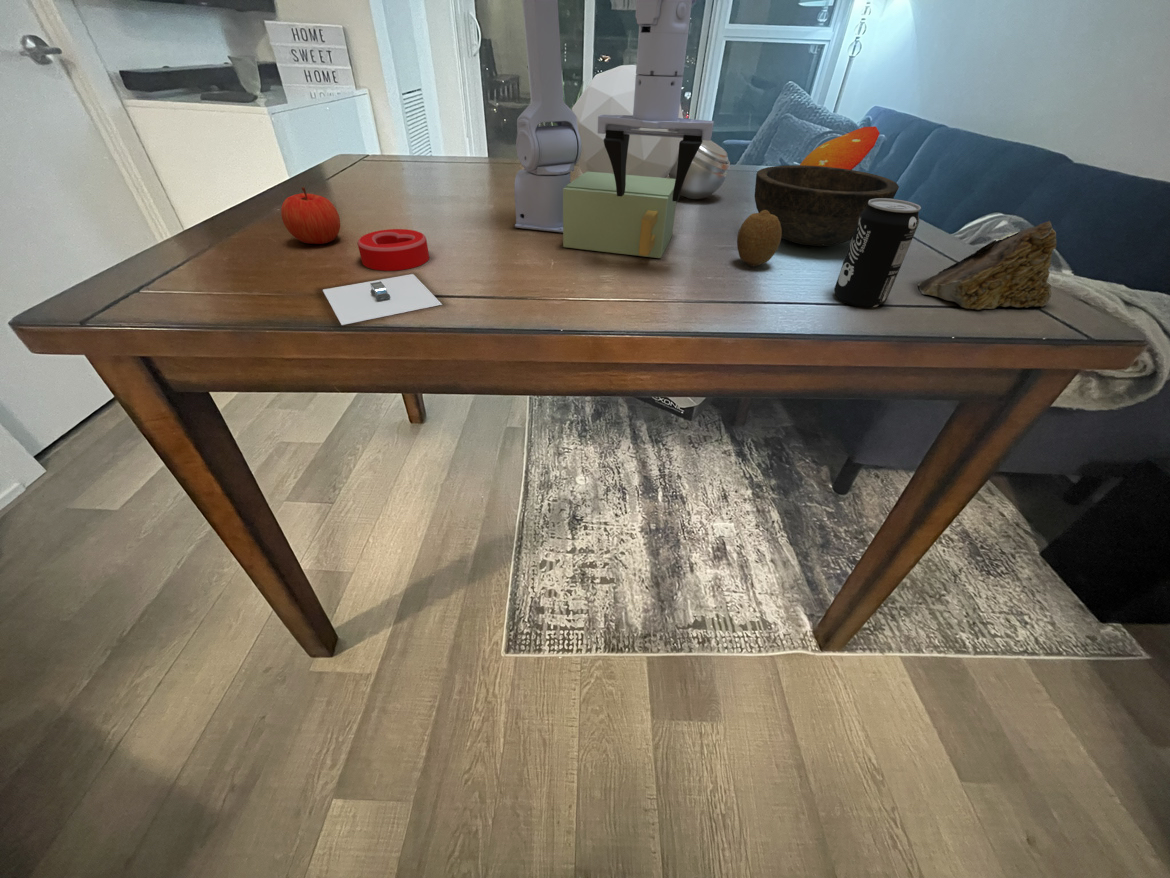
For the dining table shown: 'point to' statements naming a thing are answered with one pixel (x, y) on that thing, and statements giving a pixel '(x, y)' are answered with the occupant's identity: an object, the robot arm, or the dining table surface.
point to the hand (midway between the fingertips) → (647, 197)
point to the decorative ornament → (393, 249)
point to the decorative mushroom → (844, 149)
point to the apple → (310, 218)
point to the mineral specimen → (1000, 273)
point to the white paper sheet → (379, 298)
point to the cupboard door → (614, 222)
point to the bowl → (818, 200)
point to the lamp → (641, 138)
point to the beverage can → (876, 251)
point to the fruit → (759, 238)
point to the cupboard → (633, 191)
